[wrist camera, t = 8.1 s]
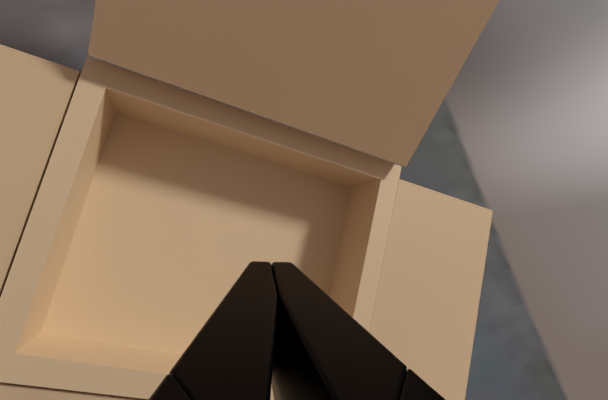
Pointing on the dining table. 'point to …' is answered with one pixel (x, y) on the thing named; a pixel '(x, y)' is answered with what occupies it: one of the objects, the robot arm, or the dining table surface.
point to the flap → (304, 59)
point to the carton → (202, 233)
